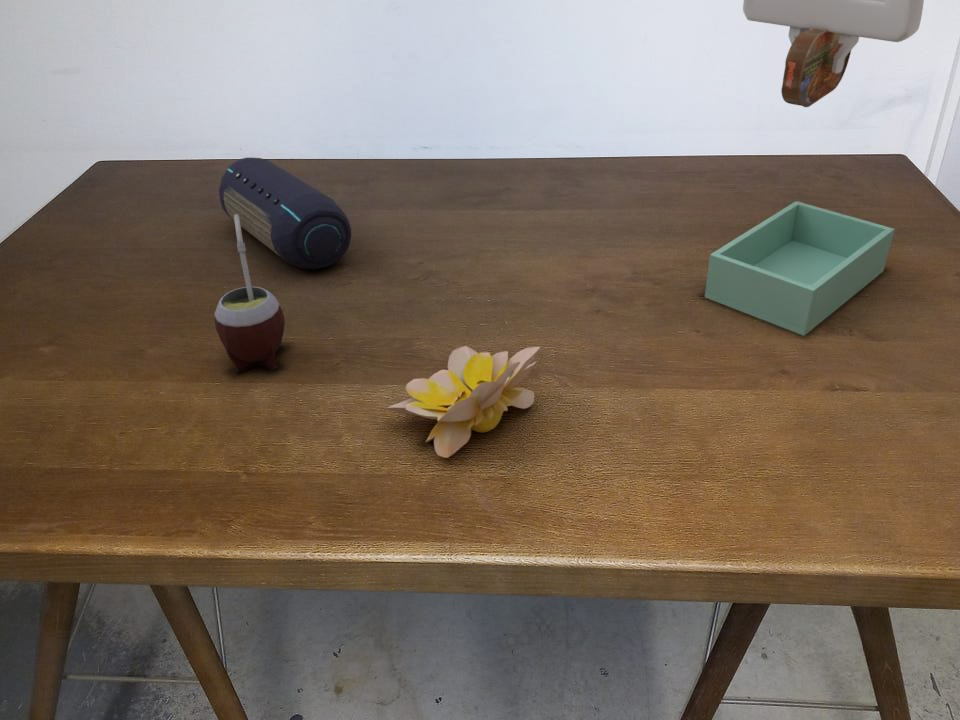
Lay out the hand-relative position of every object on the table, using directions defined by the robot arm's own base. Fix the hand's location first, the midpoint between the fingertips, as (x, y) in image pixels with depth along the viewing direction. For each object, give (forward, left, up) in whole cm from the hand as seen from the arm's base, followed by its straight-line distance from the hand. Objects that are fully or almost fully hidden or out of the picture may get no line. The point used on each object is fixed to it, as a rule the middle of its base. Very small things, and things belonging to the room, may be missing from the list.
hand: (816, 69), depth 98 cm
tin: (0, 0, -4) cm, 4 cm away
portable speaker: (+49, +48, -21) cm, 72 cm away
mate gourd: (+27, +66, -21) cm, 74 cm away
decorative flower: (+2, +57, -21) cm, 61 cm away
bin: (-8, +13, -21) cm, 26 cm away
